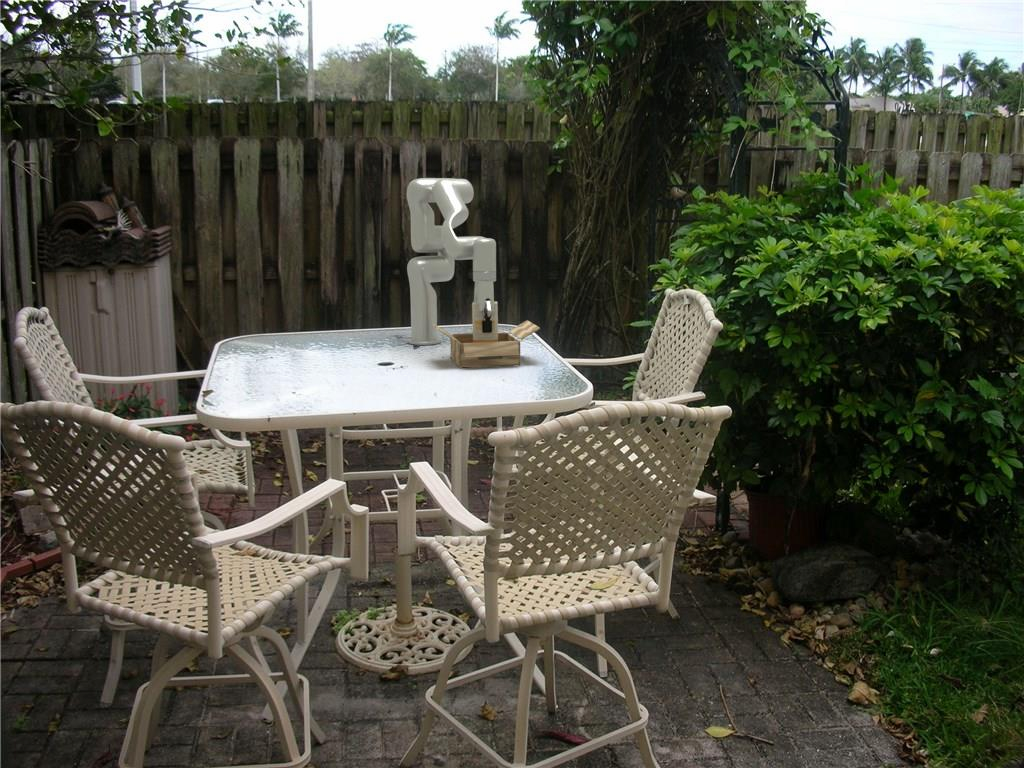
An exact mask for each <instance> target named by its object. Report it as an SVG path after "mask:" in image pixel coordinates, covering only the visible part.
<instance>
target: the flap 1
mask: <svg viewBox="0 0 1024 768" xmlns="http://www.w3.org/2000/svg"><path fill="white" fill-rule="evenodd" d="M431 324H432V325H433V326H434V327H435V328H436V329H437V332H440V333H441V334H443V335H444V336H446V337H448V338H449V339H450V338H451V339H453V340H454V341H456V342H458V341H457V340H456V339H455V338H454V337H453V336H452V335H453V334H451V333H450V332H448V331H446V330H444V329H443V328H441V327H440V326H438V324H437V325H435V324H433V323H431Z"/></svg>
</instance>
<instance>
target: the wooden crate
mask: <svg viewBox="0 0 1024 768" xmlns="http://www.w3.org/2000/svg"><path fill="white" fill-rule="evenodd" d="M451 335H452V336H453V337H454V338H455V339H456V340H457V341H458V342H456V341H454V340H453V339H451V338H449V339H450V359H451V360H452V362H453V363H455V365H456V366H457V365H458V366H459V367H460V368H459V367H458V366H457V367H458V368H459V369H463V368H462V367H477V368H493V367H492V366H499V367H515V366H514V365H520V366H521V341H520V339H518V338H517V337H516V336H515V337H514V335H513V334H511V333H510V332H505V333H498V341H497V342H502V341H518V347H519V355H513V356H490V357H467V358H465V356H464V347H463V343H477V342H473V334H468V335H453V334H451Z"/></svg>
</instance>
